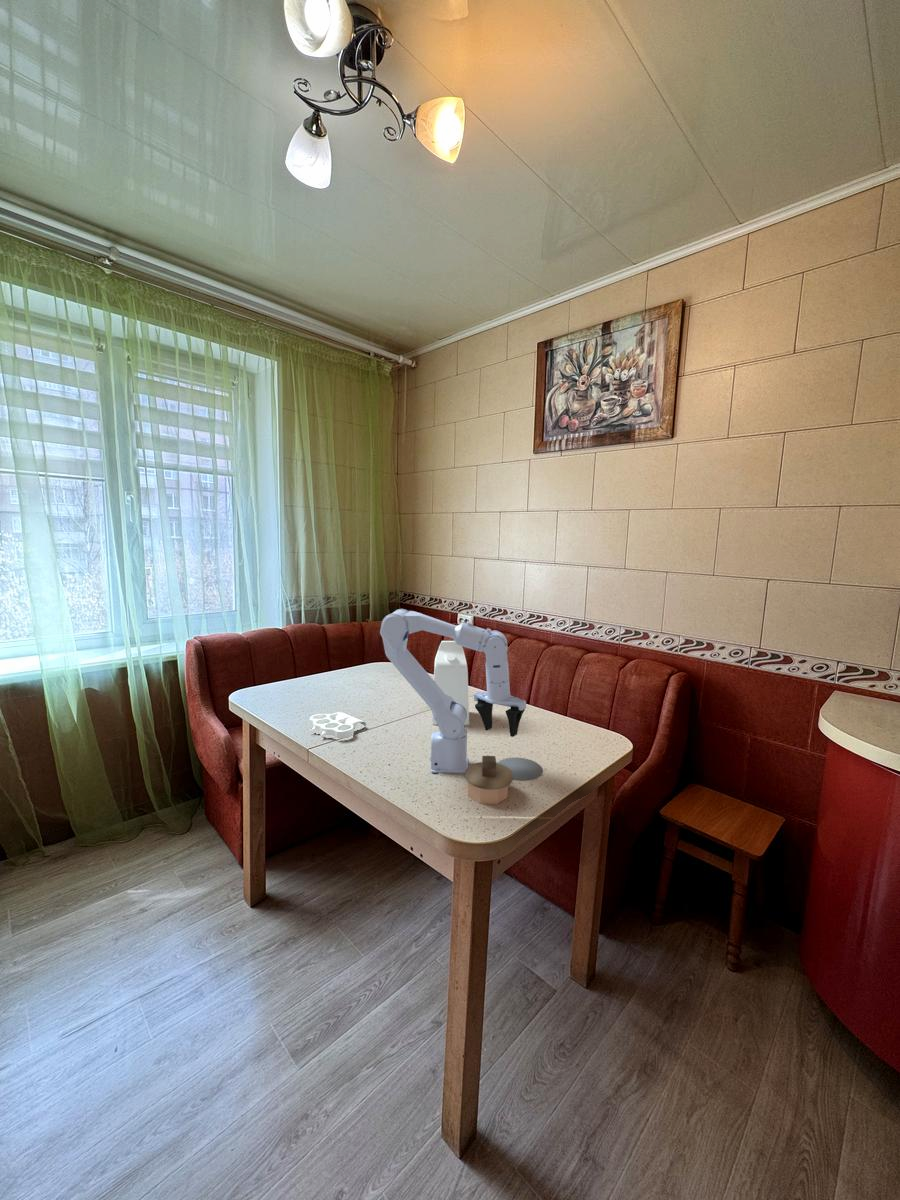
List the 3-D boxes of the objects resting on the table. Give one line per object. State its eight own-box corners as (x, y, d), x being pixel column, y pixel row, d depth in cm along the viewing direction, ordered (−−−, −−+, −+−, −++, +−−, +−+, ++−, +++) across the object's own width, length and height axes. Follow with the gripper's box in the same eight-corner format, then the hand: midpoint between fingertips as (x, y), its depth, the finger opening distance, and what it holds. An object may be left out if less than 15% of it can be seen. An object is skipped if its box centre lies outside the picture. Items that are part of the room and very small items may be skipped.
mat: (497, 781, 109) (497, 780, 109) (493, 758, 121) (493, 757, 121) (547, 782, 109) (547, 780, 109) (538, 759, 121) (538, 757, 121)
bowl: (468, 804, 99) (468, 787, 99) (467, 783, 108) (467, 767, 108) (509, 805, 99) (509, 788, 99) (504, 783, 108) (505, 768, 108)
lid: (464, 788, 98) (465, 770, 98) (465, 764, 109) (465, 747, 109) (515, 790, 98) (515, 771, 98) (510, 765, 109) (510, 748, 108)
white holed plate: (372, 731, 139) (332, 747, 128) (337, 717, 150) (298, 730, 139) (372, 721, 138) (332, 736, 127) (337, 707, 150) (298, 720, 139)
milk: (466, 711, 155) (467, 637, 152) (469, 724, 144) (470, 645, 141) (432, 711, 155) (432, 637, 152) (431, 724, 144) (432, 645, 141)
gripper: (531, 679, 111) (534, 732, 112) (483, 672, 120) (487, 721, 122) (515, 687, 106) (519, 742, 107) (467, 679, 115) (471, 730, 117)
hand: (501, 732), depth 114 cm, fingers open, 7 cm apart
